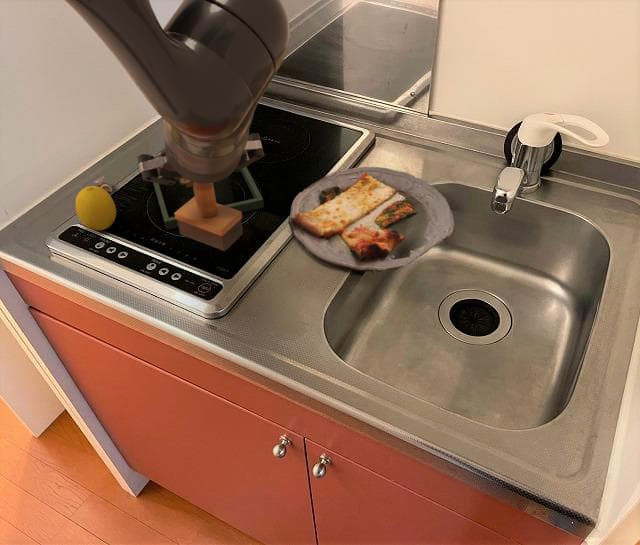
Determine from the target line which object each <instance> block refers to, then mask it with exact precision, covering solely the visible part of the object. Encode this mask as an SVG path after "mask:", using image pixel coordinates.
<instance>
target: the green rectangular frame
mask: <svg viewBox="0 0 640 545" xmlns="http://www.w3.org/2000/svg"><path fill="white" fill-rule="evenodd" d="M156 155H157V157H161V156H160V154H156ZM240 173H241V174H242V176H243V178H244V181H245V182H246V185H247V186H248V188H249V190H250V193H251V195H252V196H253V198H251V199H246V200H242V201H238V202H233V203H228V204H223V205H224V206H227V207H229V208H232V209H235V210H238V211H241V212H242V213H247V212H250V211H255V210H259V209H263V208H265V203H264V202H265V200H264V198H263V196H262V194H261V192H260V190H259V189H258V186H257V185H256V183H255V181H254V178H253V177H252V175H251V173H250V170H249V168H248V166H246V167H244V168H242V169H241V170H240ZM152 183H153V187H154V191H155V195H156V198H157V201H158V205H159V208H160V212H161V214H162V219H163V222H164V227H165V230H171V229H177V228H179V226H178V221H177V219H176V218H175V216H169V213H168V210H167V206H166V203H165V200H164V196H163V192H162V190H161V186H160V184H159V183H154V182H152Z"/></svg>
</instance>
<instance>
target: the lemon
mask: <svg viewBox="0 0 640 545" xmlns="http://www.w3.org/2000/svg"><path fill="white" fill-rule="evenodd" d="M75 211H76V215H77V217H78V219H79V221H80V222H81V223H82V225H84V227H86V228H87V229H90V230H92V231H105V230H106V229H108V228H110V227H111V226H112V225H113V224H114V222H115V221H116V217H117V207H116V205H115V202H114V199H113V198H112V196H111V194H110V192H107V191H106V190H104V189H102V188H100V187H97V186H96V185H88V186H86V187H84V188H82V189H81V190H80V191H79V192H78V193H77V195H76V198H75Z"/></svg>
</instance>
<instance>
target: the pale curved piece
mask: <svg viewBox="0 0 640 545" xmlns="http://www.w3.org/2000/svg"><path fill="white" fill-rule="evenodd" d="M104 179H105V176H101V177H99V178H98V179H94V180H93V181H94V183H96V185H95V186H97V187H100V188H102V189H104V190H106V191H107V192H108V193H111V192H113V187H112V186H111V185H110V184H109V183H106V182H104Z"/></svg>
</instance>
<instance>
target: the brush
mask: <svg viewBox="0 0 640 545" xmlns="http://www.w3.org/2000/svg"><path fill="white" fill-rule="evenodd" d="M192 189H193V194H194V196H193V197H192V198H191V199H189V200H188V201H187V202H186V203H185V204H183V205H182V206H181V207H179V208H178V209H177V210H176V211H175V212H174V213H173V214H174V217H175V218H176V219H177V221H178V226H179V227H178V230H179V234H180V236H183V237H185V238H188V239H191V240H194V241H197V242H198V243H202V244H204V245H207V246H210V247H212V248H215V249H217V250H221V251H223V252H226V251H227V250H228V249H229V248H230V247H232V245H233V244H234V243H235V242H236V241H237V240H238V239H239V238H240V237H241V236H243V234H244V230H243V223H242V219H243V212H241V211H238V210H235V209H232V208H229V207H227V206H224V205H225V204H220V203H219V202H217V198H216V193H215V187H214V183H207V184H204V183H196V182H193V186H192Z"/></svg>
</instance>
